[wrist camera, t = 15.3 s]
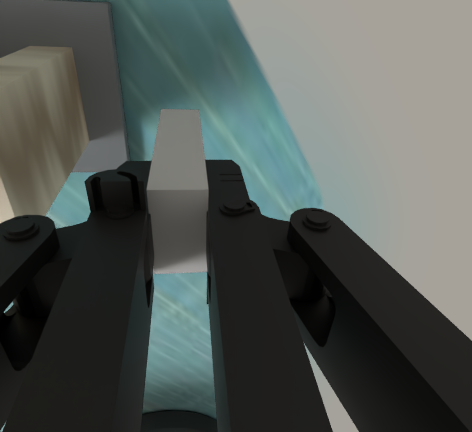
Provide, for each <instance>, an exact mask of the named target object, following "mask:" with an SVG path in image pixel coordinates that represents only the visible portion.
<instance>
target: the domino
mask: <svg viewBox="0 0 472 432" xmlns="http://www.w3.org/2000/svg"><path fill="white" fill-rule="evenodd" d="M88 143H89V136H88V130H87V125H86V120H85V114H84V109H83V104H82V98H81V93H80V88H79V82H78V77H77V72H76V67H75V61H74V56H73V51H72V47H46V46H28V47H26V48H24V49H21V50H19V51H16V52H14V53H11V54H9V55H6V56H4V57H2V58H0V223H2V222H4V221H6V220H9V219H12V218H14V217H17V216H23V215H42V216H45V215H46V213H47V212H48V210H49V208H50V207H51V205H52V203H53V202H54V200H55V198H56V197H57V195H58V193H59V192H60V190H61V188H62V187H63V185H64V183H65V182H66V180H67V178H68V176H69V175H70V173H71V171H72V170H73V168H74V166H75V165H76V163H77V161H78V160H79V158H80V156H81V155H82V153H83V151H84V150H85V148H86V146H87V145H88Z"/></svg>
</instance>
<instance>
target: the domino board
mask: <svg viewBox="0 0 472 432" xmlns="http://www.w3.org/2000/svg"><path fill="white" fill-rule="evenodd" d="M28 46H46V47H72V51H73V56H74V61H75V67H76V72H77V77H78V82H79V88H80V93H81V98H82V104H83V109H84V114H85V120H86V125H87V130H88V136H89V143H88V145H87V146H86V148H85V150H84V151H83V153H82V155H81V156H80V158H79V160H78V161H77V163H76V165H75V166H74V168H73V170H72V171H71V172H101V171H105V170H112V169H117V168H118V167H119V166H120V165H122V164H123V163H124V162H125V161H130V155H129V147H128V139H127V131H126V123H125V115H124V107H123V99H122V91H121V83H120V75H119V67H118V59H117V51H116V43H115V35H114V27H113V19H112V11H111V3H110V2H90V1H71V0H0V58H2V57H4V56H6V55H9V54H11V53H14V52H16V51H19V50H21V49H24V48H26V47H28Z"/></svg>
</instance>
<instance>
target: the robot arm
mask: <svg viewBox="0 0 472 432" xmlns="http://www.w3.org/2000/svg"><path fill="white" fill-rule="evenodd" d="M85 186H86V191H87V196H88V201H89V206H90V210H91V212H90V215H89V217H88V220H87V221H86V222H83V223H80V224H77V225H73V226H68V227H63V228H58V229H56V228H55V224H54V221H52V220H51V219H50V218H49V217H46V216H42V215H23V216H17V217H14V218H12V219H9V220H6V221H4V222H2V223H0V430H1V429H2V427H3V425H4V424H5V422H6V421H7V422H6V424H5V426H4V429H3V431H2V432H333V431H332V428H331V425H330V422H329V419H328V416H327V413H326V410H325V407H324V404H323V401H322V398H321V395H320V392H319V389H318V385H317V382H316V379H315V376H314V373H313V370H312V367H311V364H310V361H309V358H308V355H307V352H306V349H305V346H304V343H305V345H306V347H307V348H308V350H309V352H310V353H311V354H312V356H313V358H314V360H315V361H316V363H317V365H318V366H319V368H320V369H321V371H322V373H323V374H324V376H325V377H326V379H327V380H328V382H329V384H330V385H331V387H332V389H333V390H334V392H335V394H336V395H337V397H338V398H339V400H340V402H341V403H342V405H343V406H344V408H345V409H346V411H347V413H348V414H349V416H350V418H351V419H352V421H353V423H354V424H355V426H356V427H357V429H358V431H359V432H472V341H471V340H470V339H469V338H468V337H467V336H466V335H465V334H464V333H463V332H462V331H461V330H459V329H458V328H457V327H456V326H455V325H454V324H453V323H452V322H451V321H450V320H449V319H448V318H446V317H445V316H444V315H443V314H442V313H441V312H440V311H439V310H438V309H437V308H436V307H434V306H433V305H432V304H431V303H430V302H429V301H428V300H427V299H426V298H424V296H423V295H422V294H420V293H419V292H418V291H417V290H416V289H415V288H414V287H413V286H412V285H411V284H410V283H409V282H407V281H406V280H405V279H404V278H403V277H402V276H401V275H400V274H399V273H398V272H397V271H396V270H395V269H393V268H392V267H391V266H390V265H389V264H388V263H387V262H386V261H385V260H384V259H383V258H381V257H380V256H379V255H378V254H377V253H376V252H375V251H374V250H373V249H372V248H371V247H370V246H369V245H367V244H366V243H365V242H364V241H363V240H362V239H361V238H360V237H359V236H358V235H357V234H356V233H354V232H353V231H352V230H351V229H350V228H349V227H348V226H347V225H346V224H345V223H344V222H343V221H341V220H340V219H339V218H338V217H336V216H335V215H333V214H332V213H329V212H327V211H324V210H322V209H317V208H303V209H300V210H297V211H295V212H294V213H293V214H292V215H291V217H290V222H288V221H283V220H277V219H273V218H269V217H266V216H264V215H262V214H261V212H260V209H259V207H258V206H257V204H256V203H255V202H253V201H251V200H250V199H249V196H248V192H247V189H246V186H245V182H244V179H243V176H242V173H241V169H240V166H239V165H237V164H236V163H235V162H234V161H232V160H205V155H204V147H203V139H202V130H201V122H200V113H199V110H182V109H161V113H160V118H159V124H158V129H157V135H156V140H155V146H154V151H153V157H152V161H125V162H124V163H123V164H122V165H120V166H119V167H118V168H117V169H112V170H105V171H101V172H98V173H96V174H94V175H92V176H90V177H88V179H87V180H86V181H85ZM153 266H154V274H168V273H192V272H207V304H209V318H210V331H211V345H212V359H213V373H214V387H215V400H216V414H217V421H216V420H214V419H212V418H210V417H207V416H205V415H201V414H197V413H192V412H184V411H164V412H155V413H149V414H144V415H142V409H143V399H144V388H145V378H146V367H147V356H148V346H149V335H150V325H151V314H152V303H153V293H154V282H153ZM12 301H13V303H14V304H13V306H12V307H11V308H10V309H9V310H8V311H7V312H5V313H3V312H4V311H5V309H6V308H7V307H8V306H9V305H10V304H11V302H12ZM303 342H304V343H303Z"/></svg>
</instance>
